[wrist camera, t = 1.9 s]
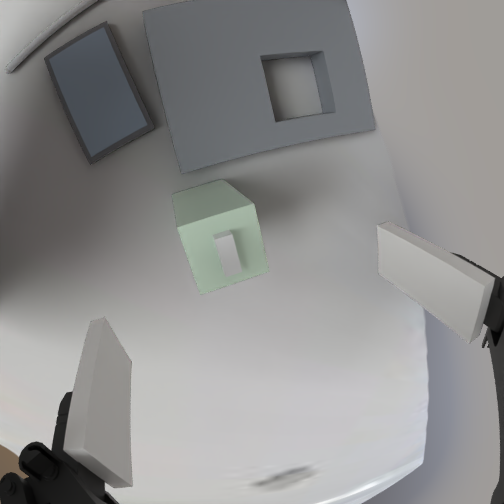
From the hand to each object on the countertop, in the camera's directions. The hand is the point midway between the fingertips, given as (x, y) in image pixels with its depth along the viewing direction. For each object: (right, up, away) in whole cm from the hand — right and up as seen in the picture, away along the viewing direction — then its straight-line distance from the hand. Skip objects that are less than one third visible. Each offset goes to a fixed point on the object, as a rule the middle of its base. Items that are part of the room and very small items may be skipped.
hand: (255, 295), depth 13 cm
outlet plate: (+1, +18, +9) cm, 20 cm away
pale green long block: (-4, +5, +13) cm, 15 cm away
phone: (-13, +15, +6) cm, 21 cm away
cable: (-16, +21, +2) cm, 27 cm away
